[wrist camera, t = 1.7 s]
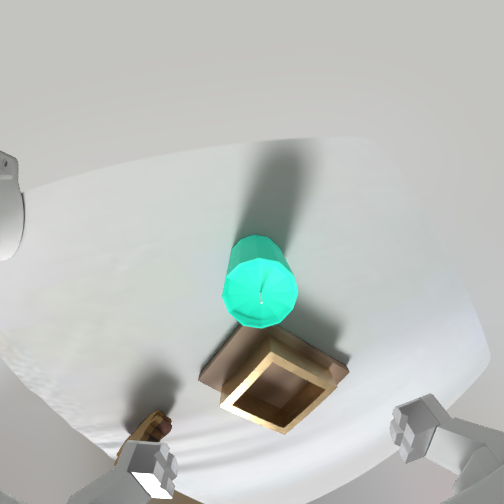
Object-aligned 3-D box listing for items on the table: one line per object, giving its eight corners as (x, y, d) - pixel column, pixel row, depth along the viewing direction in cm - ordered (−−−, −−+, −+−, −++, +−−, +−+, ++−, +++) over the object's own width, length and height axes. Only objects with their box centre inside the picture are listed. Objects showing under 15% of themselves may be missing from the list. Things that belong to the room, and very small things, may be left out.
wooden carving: (144, 449, 40) (131, 489, 30) (122, 437, 39) (105, 477, 30) (183, 403, 37) (171, 453, 28) (156, 389, 37) (137, 437, 27)
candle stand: (199, 373, 36) (193, 399, 31) (251, 308, 34) (252, 330, 29) (291, 418, 38) (296, 444, 33) (346, 365, 36) (358, 389, 31)
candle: (264, 224, 32) (275, 246, 20) (292, 268, 33) (316, 312, 21) (218, 253, 32) (203, 291, 21) (248, 295, 34) (249, 350, 22)
